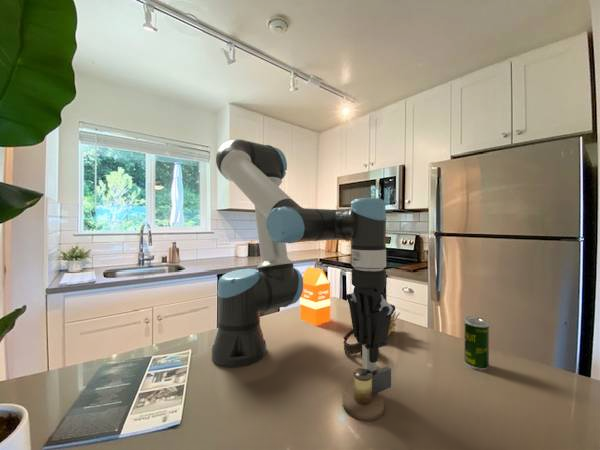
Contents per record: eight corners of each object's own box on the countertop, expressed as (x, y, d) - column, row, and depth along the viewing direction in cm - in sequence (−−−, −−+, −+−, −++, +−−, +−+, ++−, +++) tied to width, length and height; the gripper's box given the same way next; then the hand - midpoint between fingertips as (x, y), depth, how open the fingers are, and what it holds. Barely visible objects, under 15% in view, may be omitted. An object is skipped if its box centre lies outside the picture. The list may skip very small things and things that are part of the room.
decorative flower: (371, 318, 102) (376, 293, 99) (401, 332, 95) (407, 306, 93) (351, 333, 90) (356, 306, 88) (383, 351, 83) (389, 322, 81)
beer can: (475, 359, 74) (475, 315, 74) (494, 369, 69) (494, 322, 69) (459, 361, 73) (459, 317, 73) (477, 372, 68) (477, 324, 68)
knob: (362, 407, 53) (362, 380, 53) (349, 396, 56) (349, 371, 56) (396, 392, 57) (396, 367, 57) (382, 383, 61) (382, 359, 61)
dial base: (336, 410, 54) (336, 402, 54) (352, 389, 61) (352, 382, 61) (375, 427, 50) (375, 418, 50) (388, 403, 56) (388, 395, 56)
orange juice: (314, 315, 110) (314, 265, 110) (330, 321, 104) (330, 268, 103) (299, 319, 105) (299, 267, 105) (315, 326, 99) (315, 270, 98)
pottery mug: (386, 364, 73) (373, 340, 71) (353, 376, 75) (340, 353, 73) (376, 334, 85) (365, 313, 83) (348, 346, 86) (337, 325, 85)
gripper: (337, 265, 64) (337, 365, 65) (378, 274, 53) (379, 395, 53) (361, 263, 68) (361, 357, 68) (404, 270, 57) (405, 383, 57)
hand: (369, 374), depth 61 cm, fingers closed
